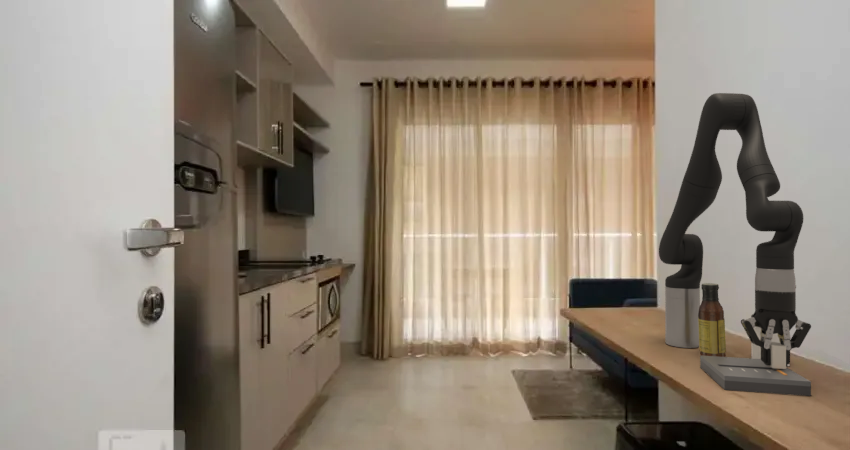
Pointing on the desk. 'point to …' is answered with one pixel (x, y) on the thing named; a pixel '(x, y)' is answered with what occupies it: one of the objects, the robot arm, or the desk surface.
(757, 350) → the jar
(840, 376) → the desk surface
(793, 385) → the fader console
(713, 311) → the sauce bottle
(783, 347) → the fader tab
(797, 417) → the desk surface
